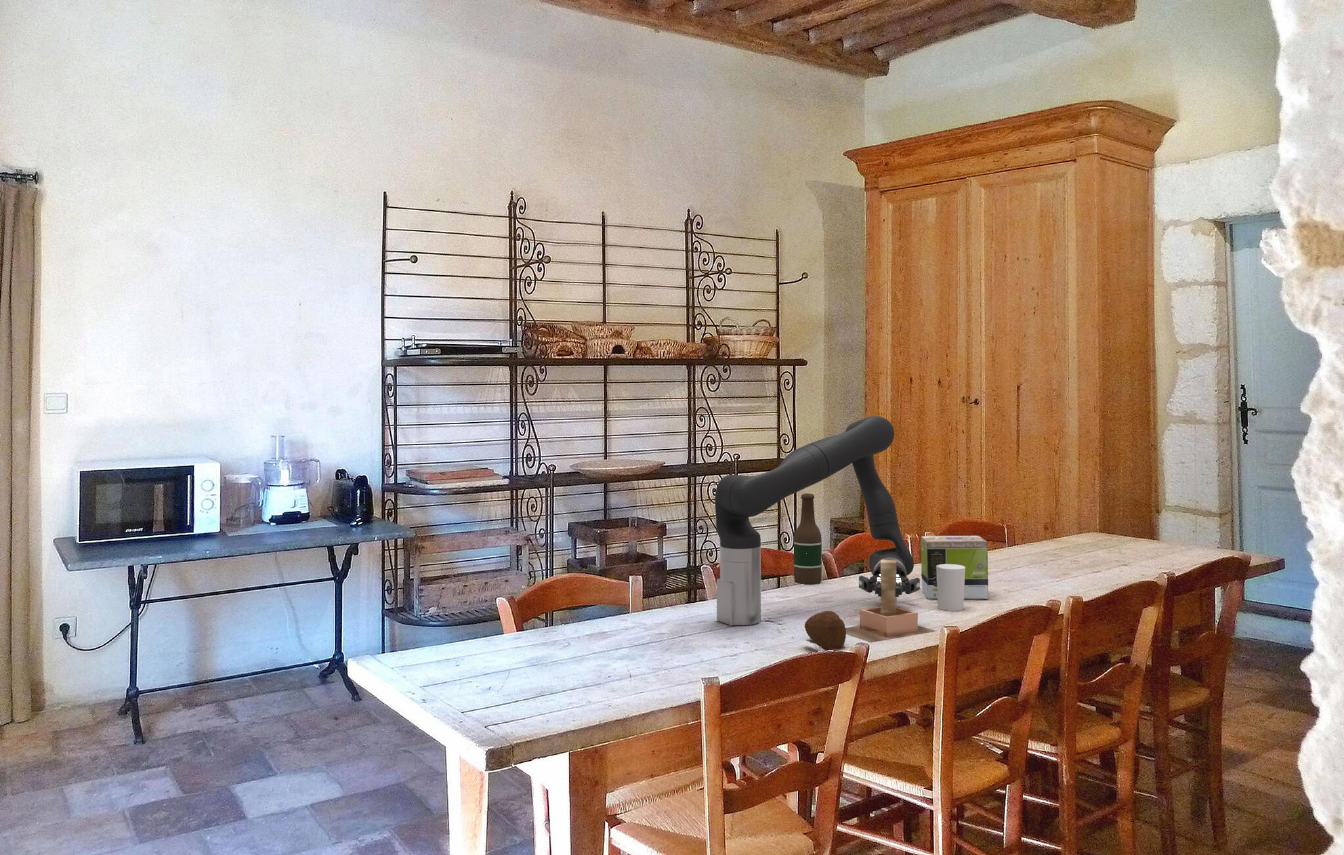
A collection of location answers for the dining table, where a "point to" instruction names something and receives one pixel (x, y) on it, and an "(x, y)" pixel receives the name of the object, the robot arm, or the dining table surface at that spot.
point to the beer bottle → (807, 545)
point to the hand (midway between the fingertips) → (888, 591)
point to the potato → (826, 630)
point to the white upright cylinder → (950, 586)
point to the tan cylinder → (888, 587)
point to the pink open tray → (889, 621)
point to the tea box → (956, 552)
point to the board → (874, 637)
